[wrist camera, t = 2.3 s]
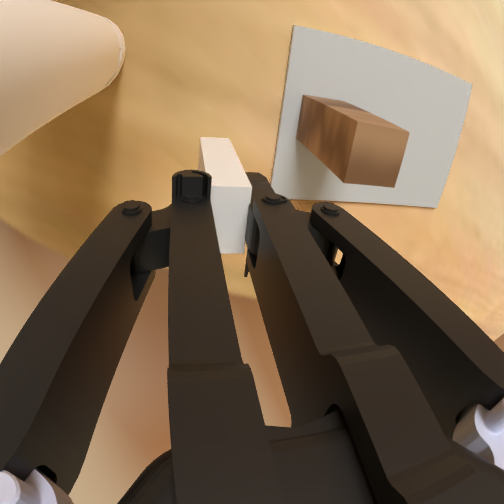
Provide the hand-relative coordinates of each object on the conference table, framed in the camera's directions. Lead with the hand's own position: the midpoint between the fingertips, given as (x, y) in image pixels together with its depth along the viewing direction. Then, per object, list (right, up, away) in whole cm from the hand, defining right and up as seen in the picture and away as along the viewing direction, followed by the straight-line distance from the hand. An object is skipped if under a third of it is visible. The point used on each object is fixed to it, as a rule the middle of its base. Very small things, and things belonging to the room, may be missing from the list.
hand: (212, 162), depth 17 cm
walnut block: (+9, +8, +13) cm, 18 cm away
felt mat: (+17, +9, +15) cm, 24 cm away
